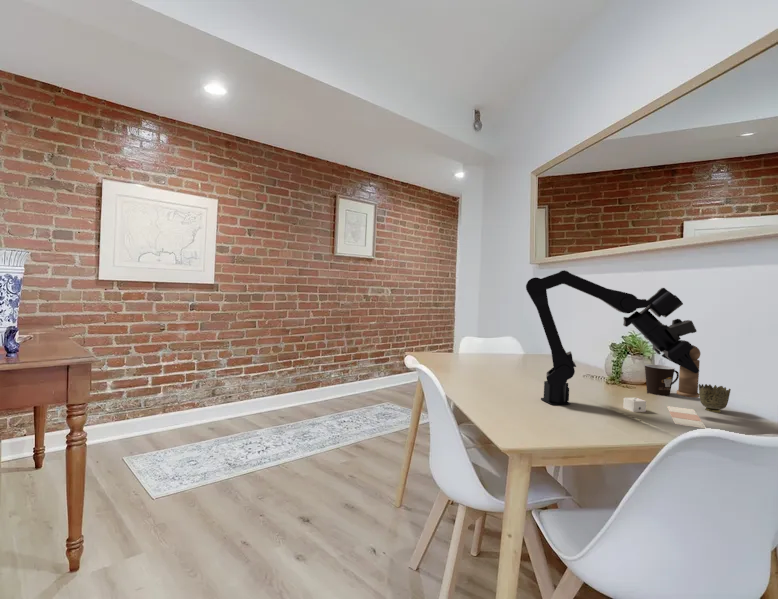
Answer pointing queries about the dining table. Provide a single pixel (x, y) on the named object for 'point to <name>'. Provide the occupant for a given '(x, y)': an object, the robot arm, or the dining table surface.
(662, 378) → the coffee mug
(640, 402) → the die
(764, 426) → the dining table surface
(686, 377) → the pawn
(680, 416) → the board
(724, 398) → the cup
